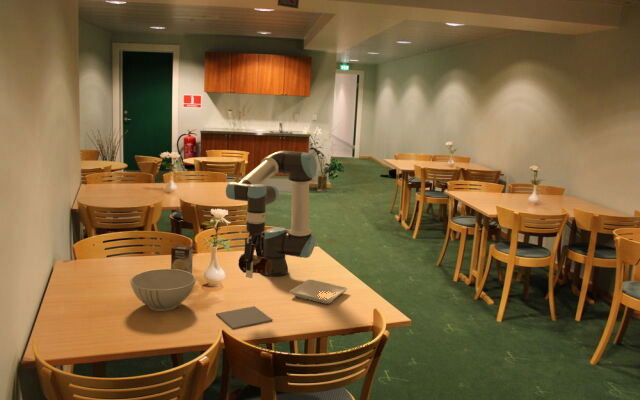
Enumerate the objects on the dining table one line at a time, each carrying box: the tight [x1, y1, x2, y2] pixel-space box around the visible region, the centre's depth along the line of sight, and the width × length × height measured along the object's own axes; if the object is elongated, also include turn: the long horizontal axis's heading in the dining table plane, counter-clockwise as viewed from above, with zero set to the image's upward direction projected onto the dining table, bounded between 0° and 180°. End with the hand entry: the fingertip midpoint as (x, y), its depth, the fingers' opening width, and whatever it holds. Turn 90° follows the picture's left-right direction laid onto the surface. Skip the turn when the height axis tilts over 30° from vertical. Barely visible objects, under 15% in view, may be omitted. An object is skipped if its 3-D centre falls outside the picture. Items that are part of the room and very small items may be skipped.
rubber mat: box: [215, 306, 273, 330], centre depth 234 cm, size 18×16×1 cm
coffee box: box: [170, 244, 194, 274], centre depth 274 cm, size 9×6×16 cm
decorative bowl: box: [129, 268, 197, 312], centre depth 240 cm, size 27×27×12 cm
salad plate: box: [289, 279, 348, 305], centre depth 264 cm, size 21×21×3 cm
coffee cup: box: [238, 253, 273, 276], centre depth 235 cm, size 9×8×13 cm
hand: (253, 274), depth 236 cm, fingers closed on coffee cup, 7 cm apart
